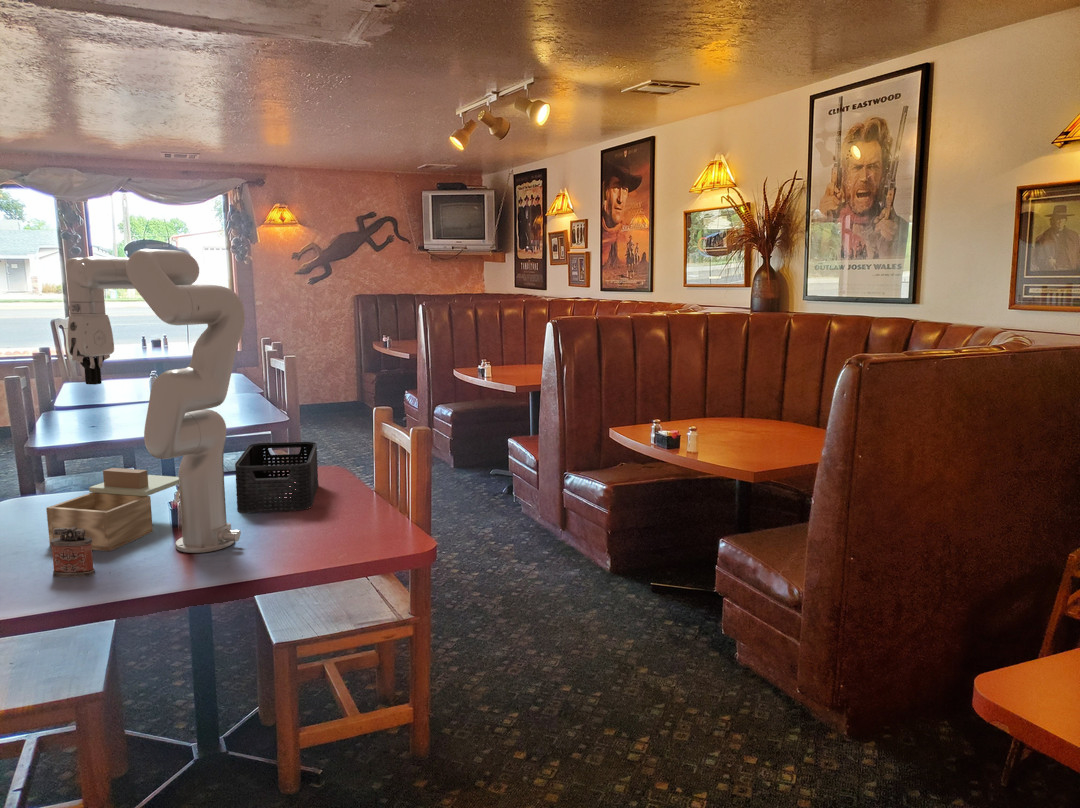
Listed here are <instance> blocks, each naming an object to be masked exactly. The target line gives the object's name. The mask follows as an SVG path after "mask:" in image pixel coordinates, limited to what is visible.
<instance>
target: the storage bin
mask: <svg viewBox="0 0 1080 808" xmlns="http://www.w3.org/2000/svg"><path fill="white" fill-rule="evenodd" d="M317 447H318V444H317V442H314V441H291V442H290V441H289V442H259V443H258V442H257V443H253V444H249V445H248V446H247V447H246V449H245V450H244V451H243V452H242V454H241V456H239V458H238V459H237V461H235V463H234V468H235V488H236V489H235V490H236V491H235V492H236V494H235V495H236V506H237V507H236V511H237V512H239V513H243V514H257V512H262V513H275V512H274V511H283V512H291V511H290V510H301V511H304V510H303V509H306V510H308V509H307V508H309V507H311V506H312V507H313V505H314V501H315V498H316V495H317V491H318V488H317V487H319V470H318V469H319V467H318V466H319V465H318V448H317ZM291 448H292V449H293V448H299V449H300V450H299V452H298V453H288V454H287V453H285V454H271V452H270V450H269V449H291ZM294 482H296V483H294ZM289 486H291V487H289ZM295 489H296V490H295ZM316 490H317V491H316ZM285 493H287V494H285ZM289 493H292V494H289ZM315 494H316V495H315ZM279 497H280V498H279ZM284 497H287V498H284ZM290 497H291V498H290ZM314 497H315V498H314ZM313 500H314V501H313ZM312 507H311V508H312ZM309 509H310V508H309Z"/></svg>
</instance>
